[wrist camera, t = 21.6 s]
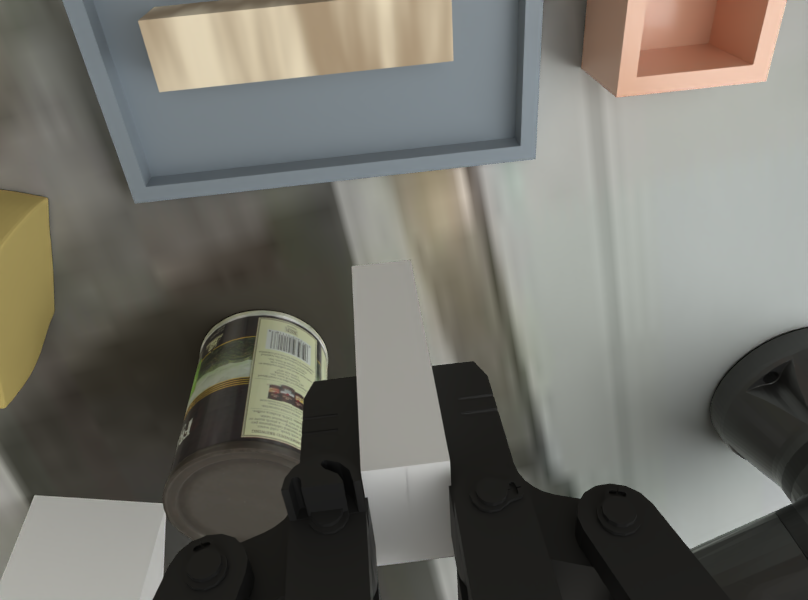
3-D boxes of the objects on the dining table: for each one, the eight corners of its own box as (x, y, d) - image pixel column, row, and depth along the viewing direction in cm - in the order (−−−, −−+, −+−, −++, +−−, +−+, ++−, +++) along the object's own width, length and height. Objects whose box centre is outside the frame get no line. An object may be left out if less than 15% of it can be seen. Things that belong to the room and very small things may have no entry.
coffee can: (204, 405, 53) (170, 555, 42) (195, 306, 47) (152, 449, 36) (326, 407, 55) (326, 552, 43) (332, 311, 49) (334, 450, 37)
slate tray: (538, -192, 32) (553, -196, 30) (525, 144, 43) (535, 159, 40) (30, -147, 31) (9, -147, 29) (144, 186, 42) (134, 203, 40)
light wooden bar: (470, -15, 33) (146, 39, 28) (471, 57, 35) (170, 118, 30) (405, -32, 39) (133, 10, 34) (409, 30, 41) (153, 77, 36)
